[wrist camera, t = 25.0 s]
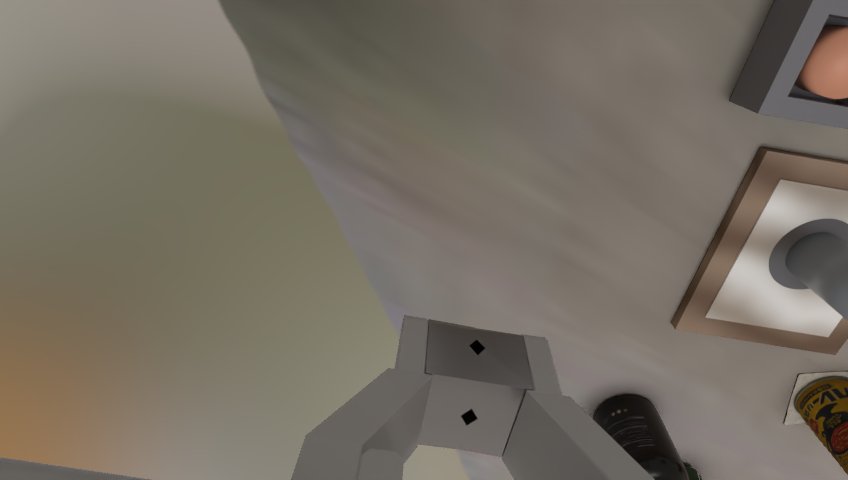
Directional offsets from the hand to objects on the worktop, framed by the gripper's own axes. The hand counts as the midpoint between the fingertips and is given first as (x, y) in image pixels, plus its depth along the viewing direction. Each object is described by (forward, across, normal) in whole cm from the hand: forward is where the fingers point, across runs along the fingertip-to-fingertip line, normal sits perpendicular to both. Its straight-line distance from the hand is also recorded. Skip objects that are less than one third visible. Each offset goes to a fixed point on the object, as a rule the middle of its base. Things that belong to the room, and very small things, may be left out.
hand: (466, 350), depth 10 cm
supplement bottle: (+31, -25, +32) cm, 51 cm away
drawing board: (+31, -33, +10) cm, 46 cm away
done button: (+29, -25, -6) cm, 39 cm away
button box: (+31, -25, -6) cm, 40 cm away
